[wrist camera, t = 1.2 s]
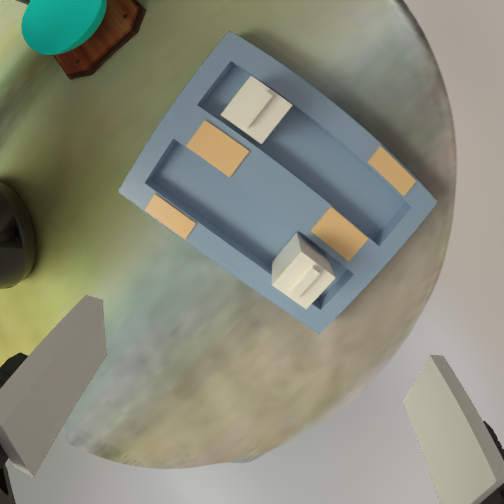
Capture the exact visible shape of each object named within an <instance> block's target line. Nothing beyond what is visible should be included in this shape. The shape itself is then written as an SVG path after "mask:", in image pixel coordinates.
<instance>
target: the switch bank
mask: <svg viewBox="0 0 504 504" xmlns="http://www.w3.org/2000/svg"><path fill="white" fill-rule="evenodd" d="M250 76H252V77H254V78H255V79H257V80H258V81H260V82H261V83H263V84H264V85H265V86H267V87H268V88H270V89H271V90H273V91H274V92H275V93H277V94H278V95H280V96H281V97H282V98H284V99H285V100H286V101H288V102H289V103H290V104H292V107H291V108H290V110H289V111H288V112H287V114H286V115H285V116H284V117H283V119H282V120H281V121H280V122H279V124H278V125H277V126H276V127H275V129H274V130H273V131H272V132H271V134H270V135H269V136H268V138H267V139H266V140H265V141H264V143H263V144H260V143H259V142H258V141H256V140H255V139H254V138H252V137H251V136H249V135H248V134H247V133H245V132H244V131H243V130H241V129H240V128H238V127H237V126H236V125H234V124H233V123H231V122H230V121H228V120H227V119H226V118H224V117H223V116H221V114H222V112H223V111H224V110H225V108H226V107H227V106H228V104H229V103H230V102H231V100H232V99H233V98H234V97H235V95H236V94H237V93H238V91H239V90H240V89H241V88H242V86H243V85H244V84H245V83H246V81H247V80H248V79H249V78H250ZM118 192H119V193H120V194H122V195H123V196H124V197H126V198H127V199H128V200H130V201H131V202H132V203H134V204H135V205H136V206H138V207H139V208H140V209H142V210H143V211H145V212H146V213H147V214H149V215H150V216H151V217H153V218H154V219H155V220H157V221H158V222H160V223H161V224H162V225H164V226H165V227H166V228H168V229H169V230H170V231H172V232H173V233H175V234H176V235H177V236H179V237H180V238H182V239H183V240H184V241H186V242H187V243H188V244H190V245H191V246H193V247H194V248H195V249H197V250H198V251H200V252H201V253H202V254H204V255H205V256H207V257H208V258H209V259H211V260H212V261H214V262H215V263H216V264H218V265H219V266H221V267H222V268H223V269H225V270H226V271H228V272H229V273H231V274H232V275H233V276H235V277H236V278H238V279H239V280H241V281H242V282H243V283H245V284H246V285H248V286H249V287H251V288H252V289H253V290H255V291H256V292H258V293H259V294H261V295H262V296H264V297H265V298H266V299H268V300H269V301H271V302H272V303H274V304H275V305H277V306H278V307H280V308H281V309H282V310H284V311H285V312H287V313H288V314H290V315H291V316H293V317H294V318H296V319H297V320H299V321H300V322H302V323H303V324H305V325H306V326H308V327H309V328H310V329H312V330H313V331H315V332H316V333H318V334H320V333H321V332H322V331H323V330H324V329H325V328H326V327H327V326H328V325H329V324H330V323H331V322H332V321H333V320H334V319H335V318H336V317H337V316H338V315H339V314H340V313H341V312H342V311H343V310H344V309H345V308H346V307H347V306H348V305H349V304H350V303H351V302H352V301H353V300H354V299H355V298H356V297H357V295H358V294H359V293H360V292H361V291H362V290H363V289H364V288H365V287H366V286H367V285H368V284H369V283H370V282H371V280H372V279H373V278H374V277H375V276H376V275H377V274H378V273H379V272H380V271H381V269H382V268H383V267H384V266H385V265H386V264H387V263H388V262H389V260H390V259H391V258H392V257H393V256H394V255H395V254H396V253H397V251H398V250H399V249H400V248H401V247H402V246H403V244H404V243H405V242H406V241H407V240H408V238H409V237H410V236H411V235H412V234H413V233H414V231H415V230H416V229H417V228H418V226H419V225H420V224H421V223H422V222H423V220H424V219H425V218H426V217H427V215H428V214H429V213H430V212H431V210H432V209H433V208H434V207H435V205H436V204H437V203H438V202H437V201H436V200H435V198H434V197H433V196H432V194H431V193H430V192H429V191H428V190H427V189H426V188H425V186H424V185H423V184H422V183H421V182H420V181H419V180H418V179H417V178H416V177H415V176H414V175H413V174H412V173H411V172H410V171H409V170H408V169H407V168H406V167H405V166H404V165H403V164H402V163H401V162H400V161H399V160H398V159H397V158H396V157H395V156H394V155H393V154H392V153H391V152H390V151H389V150H388V149H387V148H386V147H385V146H384V145H383V144H381V143H380V142H379V141H378V140H377V139H376V138H375V137H374V136H373V135H372V134H371V133H369V132H368V131H367V130H366V129H365V128H364V127H363V126H362V125H360V124H359V123H358V122H357V121H356V120H355V119H353V118H352V117H351V116H350V115H349V114H348V113H346V112H345V111H344V110H343V109H342V108H340V107H339V106H338V105H337V104H335V103H334V102H333V101H332V100H330V99H329V98H328V97H327V96H325V95H324V94H323V93H322V92H320V91H319V90H318V89H316V88H315V87H314V86H312V85H311V84H310V83H308V82H307V81H306V80H304V79H303V78H302V77H300V76H299V75H298V74H296V73H295V72H293V71H292V70H291V69H289V68H288V67H286V66H285V65H284V64H282V63H281V62H279V61H278V60H276V59H275V58H273V57H272V56H270V55H269V54H267V53H266V52H264V51H263V50H261V49H260V48H258V47H257V46H255V45H253V44H252V43H250V42H249V41H247V40H245V39H244V38H242V37H240V36H239V35H237V34H234V33H232V32H230V31H229V32H228V33H227V34H226V36H225V37H224V38H223V39H222V40H221V42H220V43H219V44H218V45H217V46H216V48H215V49H214V50H213V51H212V53H211V54H210V55H209V56H208V58H207V59H206V60H205V61H204V63H203V64H202V65H201V66H200V68H199V69H198V70H197V72H196V73H195V74H194V76H193V77H192V78H191V80H190V81H189V82H188V84H187V85H186V86H185V88H184V89H183V90H182V92H181V93H180V95H179V96H178V97H177V99H176V100H175V102H174V103H173V104H172V106H171V107H170V109H169V110H168V112H167V113H166V115H165V116H164V117H163V119H162V120H161V122H160V123H159V125H158V126H157V128H156V129H155V131H154V133H153V134H152V136H151V137H150V139H149V140H148V142H147V143H146V145H145V147H144V148H143V150H142V151H141V153H140V155H139V156H138V158H137V160H136V161H135V163H134V165H133V166H132V168H131V170H130V171H129V173H128V175H127V177H126V178H125V180H124V182H123V184H122V185H121V187H120V189H119V191H118ZM296 233H298V234H299V235H301V236H302V237H303V238H304V239H306V240H307V241H308V242H310V243H311V244H312V245H313V246H315V247H316V248H317V249H319V250H320V251H321V252H322V253H324V254H325V255H326V256H327V258H328V261H329V263H330V265H331V268H332V270H333V273H334V275H335V277H336V278H335V279H334V280H333V281H332V282H331V284H330V285H329V286H328V287H327V288H326V289H325V290H324V291H323V292H322V293H321V294H320V295H319V296H318V298H317V299H316V300H315V301H314V302H313V303H312V304H311V305H310V306H309V307H308V308H307V309H305V308H303V307H302V306H301V305H299V304H298V303H296V302H295V301H294V300H292V299H291V298H289V297H288V296H286V295H285V294H284V293H282V292H281V291H279V290H278V289H276V288H275V287H274V286H272V261H273V260H274V259H275V258H276V257H277V255H278V254H279V253H280V252H281V251H282V249H283V248H284V247H285V246H286V245H287V243H288V242H289V241H290V240H291V239H292V238H293V236H294V235H295V234H296Z"/></svg>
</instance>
